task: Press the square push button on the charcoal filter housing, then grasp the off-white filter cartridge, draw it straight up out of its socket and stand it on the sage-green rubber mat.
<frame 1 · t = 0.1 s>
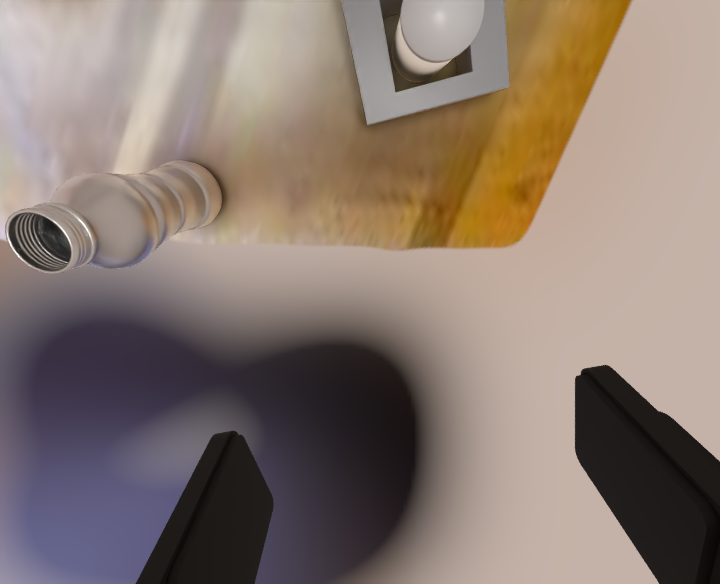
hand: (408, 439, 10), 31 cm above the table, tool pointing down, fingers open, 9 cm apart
plastic bottle: (198, 191, 38), on the table
cartridge: (418, 51, 32), resting in housing
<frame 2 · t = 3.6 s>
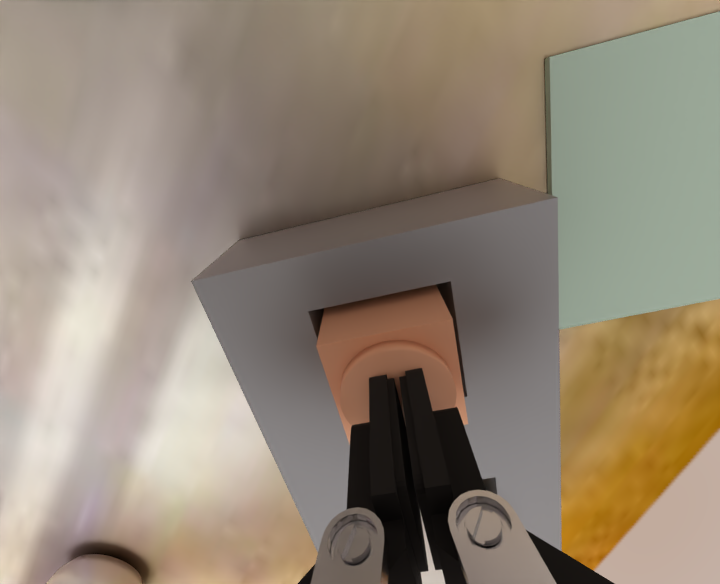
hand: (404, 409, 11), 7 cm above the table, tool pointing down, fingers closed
housing: (404, 385, 20), on the table
plastic bottle: (113, 564, 27), on the table
square push button: (391, 349, 14), point 5 cm above the table, slide at 0.3 cm, touching gripper
mat: (654, 188, 15), on the table
cartridge: (419, 448, 22), resting in housing
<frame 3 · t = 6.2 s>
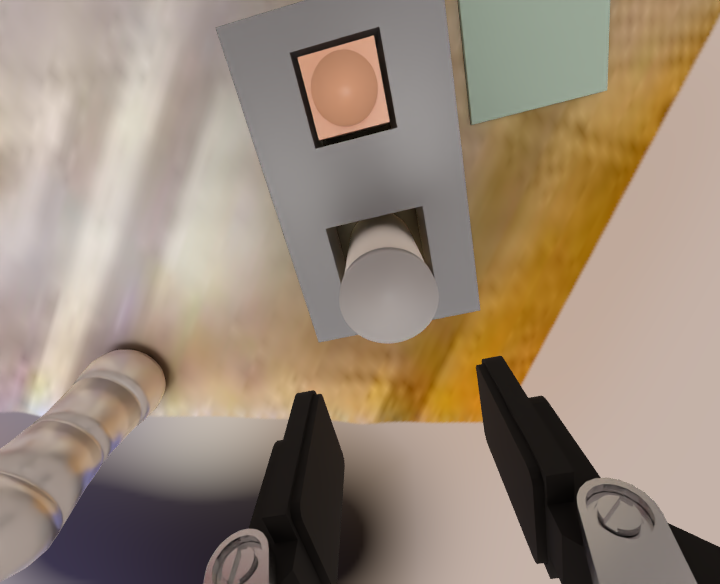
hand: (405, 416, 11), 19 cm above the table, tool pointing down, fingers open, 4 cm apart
housing: (366, 180, 27), on the table
plastic bottle: (141, 369, 34), on the table
square push button: (346, 95, 22), point 3 cm above the table, slide at 1.6 cm
mat: (531, 4, 22), on the table
cartridge: (380, 243, 29), resting in housing
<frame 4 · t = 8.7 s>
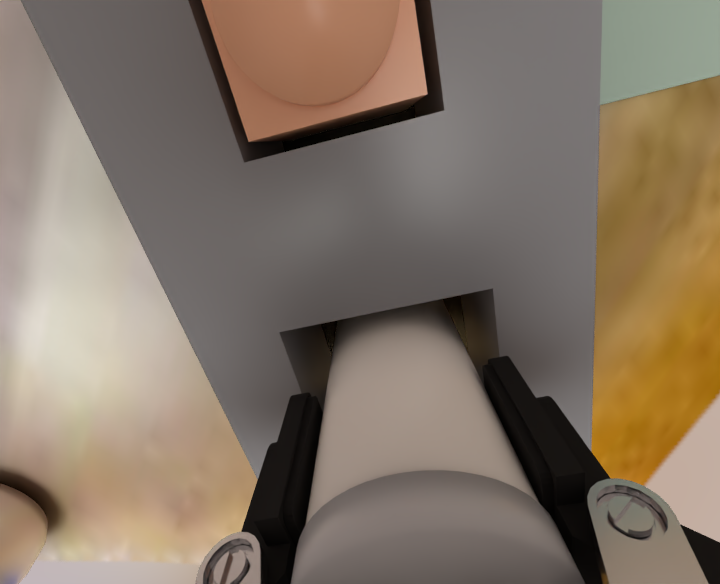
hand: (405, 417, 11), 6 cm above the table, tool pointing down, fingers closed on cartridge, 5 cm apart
housing: (367, 216, 14), on the table
plastic bottle: (13, 500, 22), on the table
square push button: (321, 35, 9), point 3 cm above the table, slide at 1.6 cm
cartridge: (392, 323, 16), resting in housing, touching gripper
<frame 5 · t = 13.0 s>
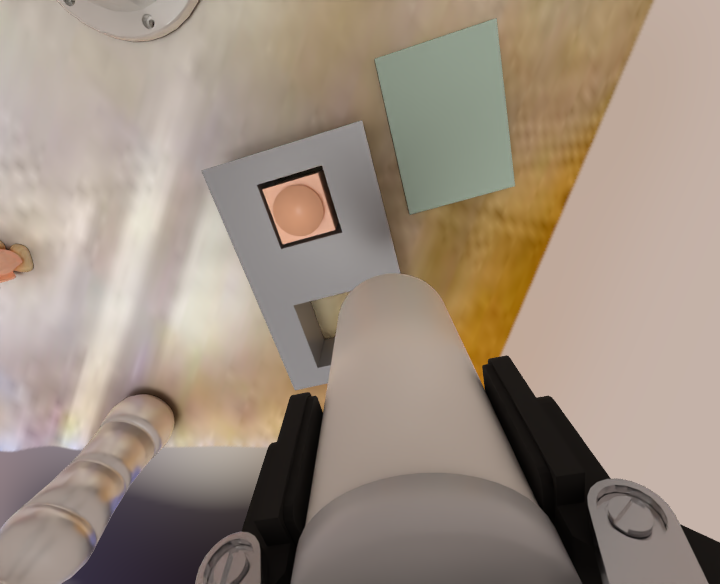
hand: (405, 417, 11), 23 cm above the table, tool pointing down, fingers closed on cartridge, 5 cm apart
housing: (329, 257, 33), on the table
plastic bottle: (154, 408, 41), on the table
square push button: (304, 205, 28), point 3 cm above the table, slide at 1.6 cm
mat: (447, 126, 28), on the table
grandmother figurine: (16, 256, 34), on the table
cartridge: (392, 324, 16), point 17 cm above the table, touching gripper
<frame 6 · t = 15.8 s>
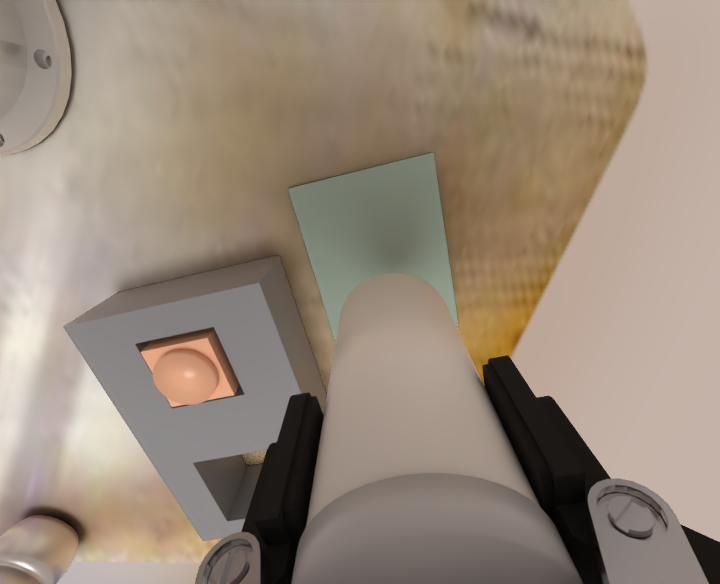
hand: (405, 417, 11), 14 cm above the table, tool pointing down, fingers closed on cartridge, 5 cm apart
housing: (247, 387, 28), on the table
plastic bottle: (57, 525, 36), on the table
square push button: (203, 353, 23), point 3 cm above the table, slide at 1.6 cm
mat: (379, 261, 24), on the table
cartridge: (393, 324, 16), point 9 cm above the table, touching gripper
when the fingers open (8 cm above the table, at t = 17.8 s): cartridge drops 1 cm, resting on mat.
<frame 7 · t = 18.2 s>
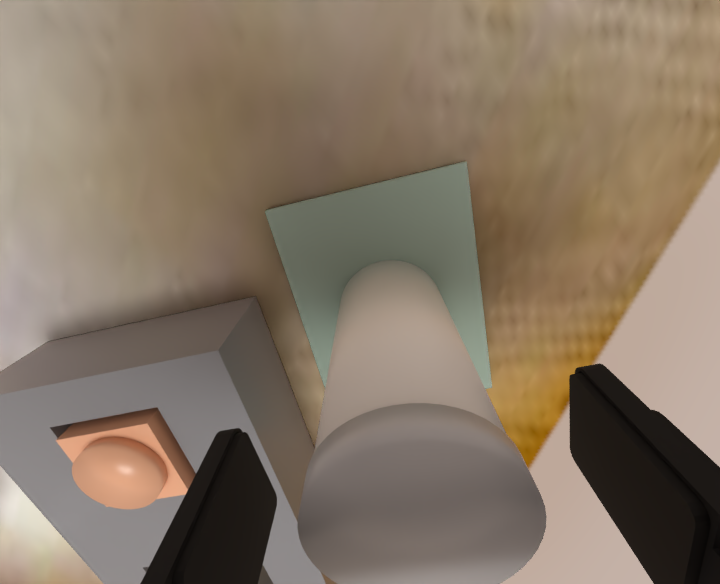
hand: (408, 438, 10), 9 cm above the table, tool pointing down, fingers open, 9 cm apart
housing: (220, 456, 22), on the table
square push button: (153, 429, 17), point 3 cm above the table, slide at 1.6 cm
mat: (389, 305, 18), on the table
cartridge: (390, 308, 18), resting on mat
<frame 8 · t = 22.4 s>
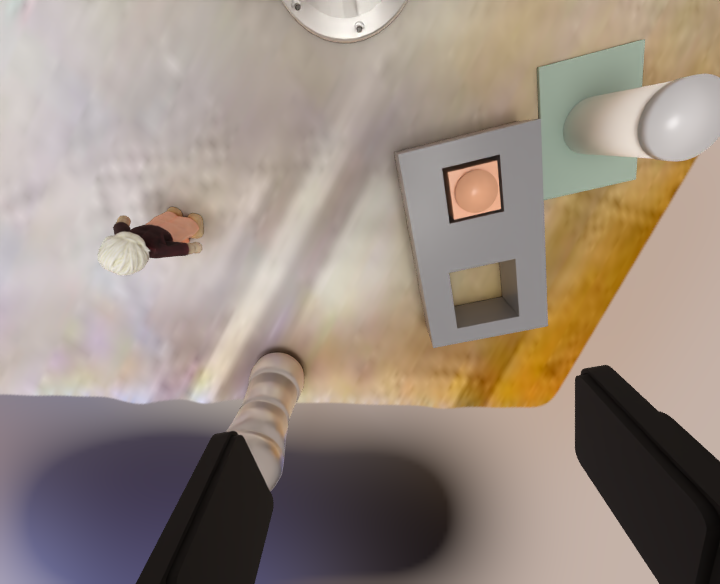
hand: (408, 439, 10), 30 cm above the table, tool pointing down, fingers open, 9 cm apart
housing: (466, 235, 38), on the table
plastic bottle: (282, 366, 46), on the table
square push button: (468, 187, 33), point 3 cm above the table, slide at 1.6 cm
mat: (587, 126, 34), on the table
grandmother figurine: (189, 224, 39), on the table
cartridge: (590, 125, 34), resting on mat
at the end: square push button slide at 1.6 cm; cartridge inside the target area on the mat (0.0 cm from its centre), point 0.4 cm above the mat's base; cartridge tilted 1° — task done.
